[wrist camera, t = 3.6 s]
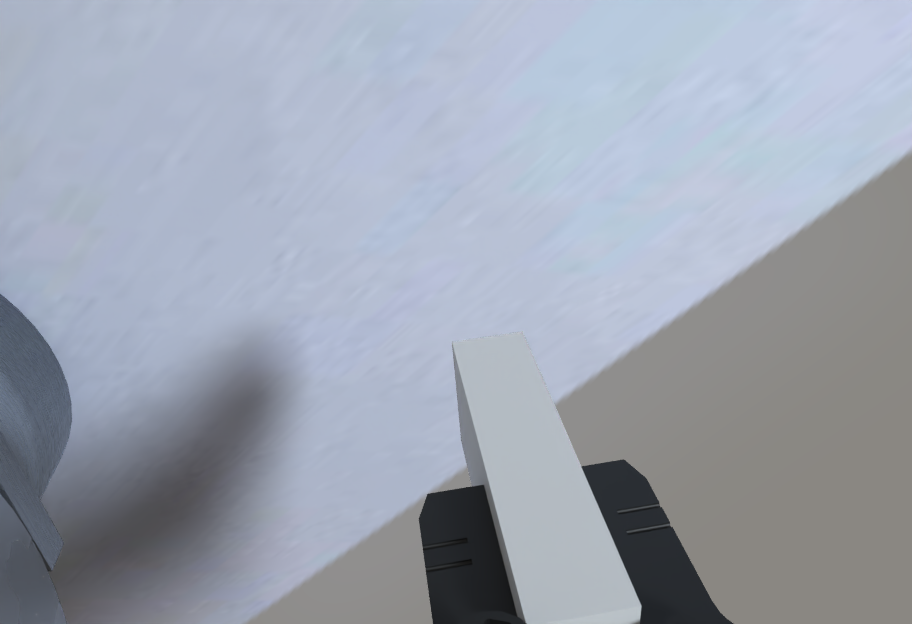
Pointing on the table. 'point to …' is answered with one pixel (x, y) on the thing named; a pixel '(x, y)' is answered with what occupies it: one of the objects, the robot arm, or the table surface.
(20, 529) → the lid
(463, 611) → the robot arm
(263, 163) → the table surface
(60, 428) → the pot
